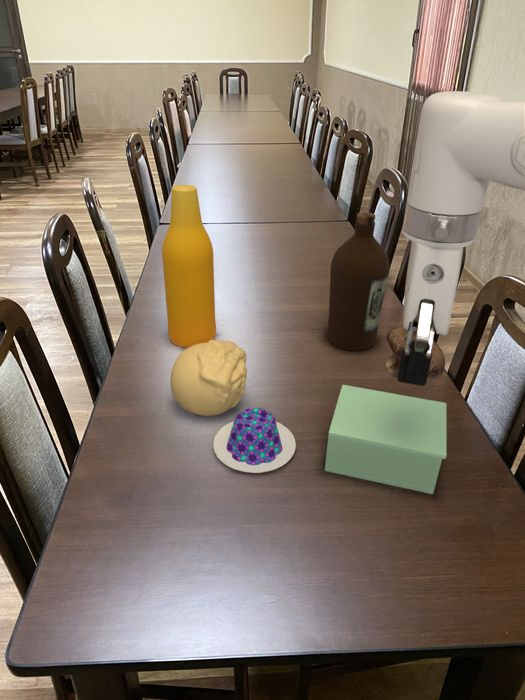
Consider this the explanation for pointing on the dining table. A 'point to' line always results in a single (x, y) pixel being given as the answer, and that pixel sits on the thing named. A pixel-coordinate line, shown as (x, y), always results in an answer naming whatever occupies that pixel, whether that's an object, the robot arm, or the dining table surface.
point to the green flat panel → (390, 421)
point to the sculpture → (209, 377)
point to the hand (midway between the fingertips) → (412, 362)
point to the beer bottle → (188, 272)
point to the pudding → (254, 442)
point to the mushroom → (398, 343)
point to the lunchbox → (382, 464)
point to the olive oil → (357, 288)
